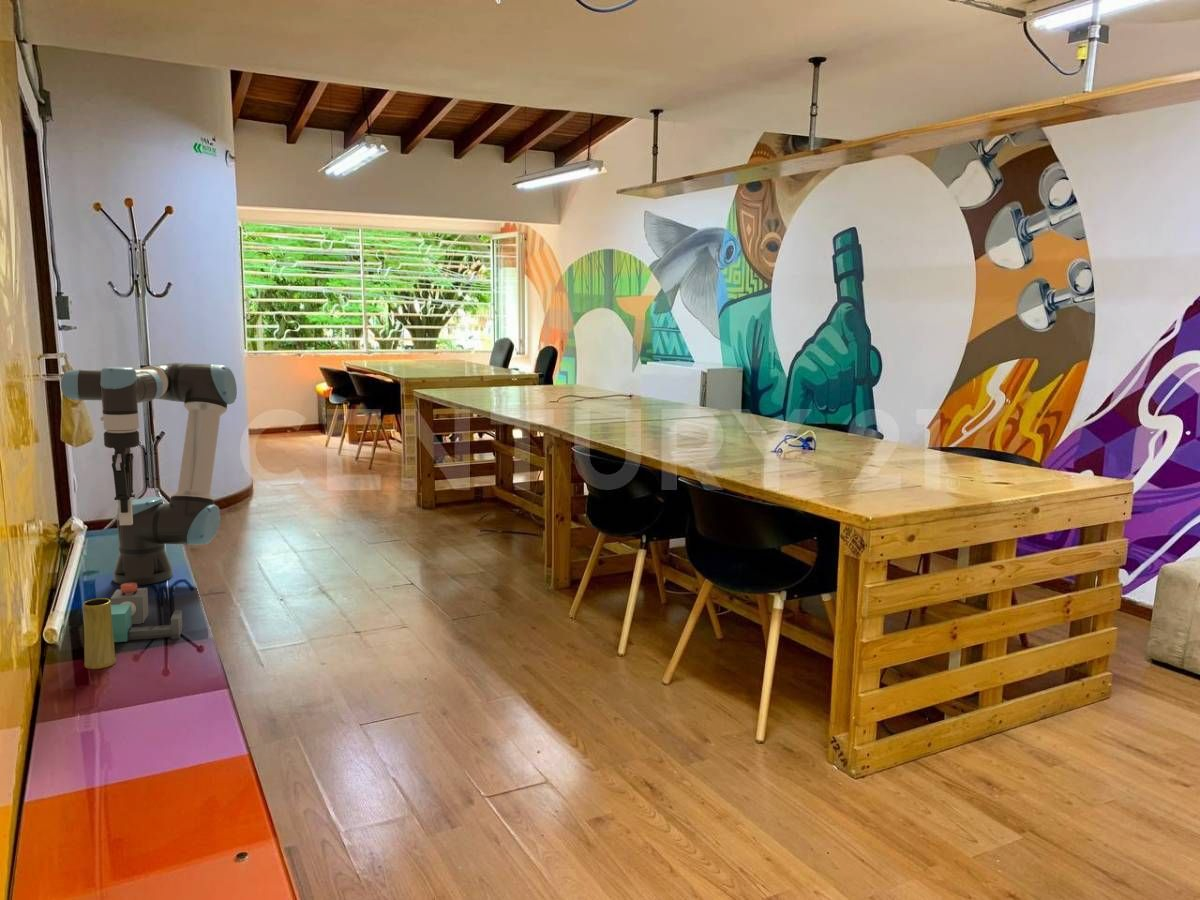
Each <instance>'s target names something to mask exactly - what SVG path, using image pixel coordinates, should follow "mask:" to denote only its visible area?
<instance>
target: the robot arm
mask: <svg viewBox="0 0 1200 900" xmlns="http://www.w3.org/2000/svg"><path fill="white" fill-rule="evenodd" d="M60 388H61V393H62V394H63V396H64V397H66V398H67V399H68V400H77V401H101V405H102V416H101V417H100V418H99V419H100V421H101V422H103V423H102V424H103V430H105V431H104V432H103V443H104V444H103V445H104V446H105V448H108V449H114V454H112V455H111V461H112V463H111V468H112V472H113V481H114V482H113V483H114V489H115V497H114V501H117V503H118V507H117V514H116V515H117V516H116V521H117V522H116V523H117V536H118V537H117V539H118V557H117V560H116V564H115V566H114V569H113V573H112V574H113V575H112V576H113V578H112V579H113V582H114V583H115V584H118V585H122V584H124V583H131V582H133V583H137V586H144V585H151V584H152V585H153V584H156V583H161V582H164V581H166V580H169V579H171V578H172V576H173V566H172V564H171V561H170V559H169V556H168V554H167V552H166V548H165V546H166V545H186V546H187V545H189V546H196V545H198V546H201V545H202V546H203V545H207V544H210V542H212V541H213V539H214V538H215V537H216V535H217V533H218V531H219V528H220V523H221V509H220V508H219V506H218V505H216V504H215V498H214V497H213V496H212V495H211V490H212V489H211V488H212V480H213V474H214V466H215V460H216V459H215V458H216V450H217V444H218V436H219V435H218V434H219V429H220V427H219V426H220V421H221V416H222V415H223V414H225V413H226V412H227V410H228V405H231V404H234V403H235V401H236V399H237V393H238V392H237V391H238V388H237V382H236V378H235V375H234V372H233V371H232V369H231V368H230V367H228V366H227V365H226V364H225V365H224V364H216V363H188V362H187V363H184V362H173V363H166V364H156V365H147V366H143V367H142V368H140V369H135V368H134V367H133V366H105V367H103V368H101V370H100V369H98V370H97V369H96V370H89V369H87V370H83V369H74V370H73V369H71V370H66V371H65V372H64V373H63V374H62V376H61V380H60ZM157 399H158V400H164V401H170V402H179V403H181V402H182V403H183V406H184V408H185V409H186V410H187V412H188V414H187V416H188V417H187V421H186V422H187V423H186V429H185V436H184V442H183V443H184V444H183V451H182V458H181V464H180V472H179V479H178V487H177V491H176V492H175V493H173V494H171V496H170V500H169V501H170V502H169V503H164V502H165V501H164V499H163V497H161V496H149V497H148V496H147V497H141V498H136V499H133V498H135V497H136V494H134V481H133V480H134V471H133V470H134V465H133V464H134V456H135V455H134V453H133V452H131V449H132V448H136V447H138V446H139V445H140V432H139V431H138V429H139V428H140V425H139V424H140V423H139V421H140V420H139V411H138V410H139V409H138V404H139V403H144V402H147V403H149V402H150V401H152V400H157Z"/></svg>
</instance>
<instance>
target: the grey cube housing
mask: <svg viewBox="0 0 1200 900" xmlns="http://www.w3.org/2000/svg"><path fill="white" fill-rule="evenodd" d="M110 601H111V605H119V604H131V614H132V625H138V624H139V625H140V624H141V623H145V622H146V620H147V618H148V616H149V594H148V587H137V591H136V592H133V595H125V593H122V592H121V588H120V589H116V590H115V591H114V592H113V594H112V595H111V597H110ZM145 619H146V620H145ZM144 621H145V622H144Z"/></svg>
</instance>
